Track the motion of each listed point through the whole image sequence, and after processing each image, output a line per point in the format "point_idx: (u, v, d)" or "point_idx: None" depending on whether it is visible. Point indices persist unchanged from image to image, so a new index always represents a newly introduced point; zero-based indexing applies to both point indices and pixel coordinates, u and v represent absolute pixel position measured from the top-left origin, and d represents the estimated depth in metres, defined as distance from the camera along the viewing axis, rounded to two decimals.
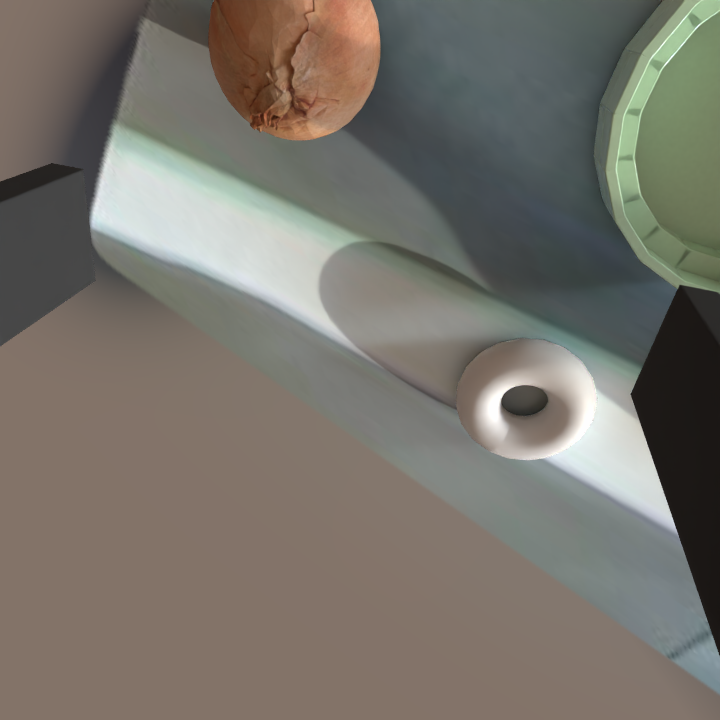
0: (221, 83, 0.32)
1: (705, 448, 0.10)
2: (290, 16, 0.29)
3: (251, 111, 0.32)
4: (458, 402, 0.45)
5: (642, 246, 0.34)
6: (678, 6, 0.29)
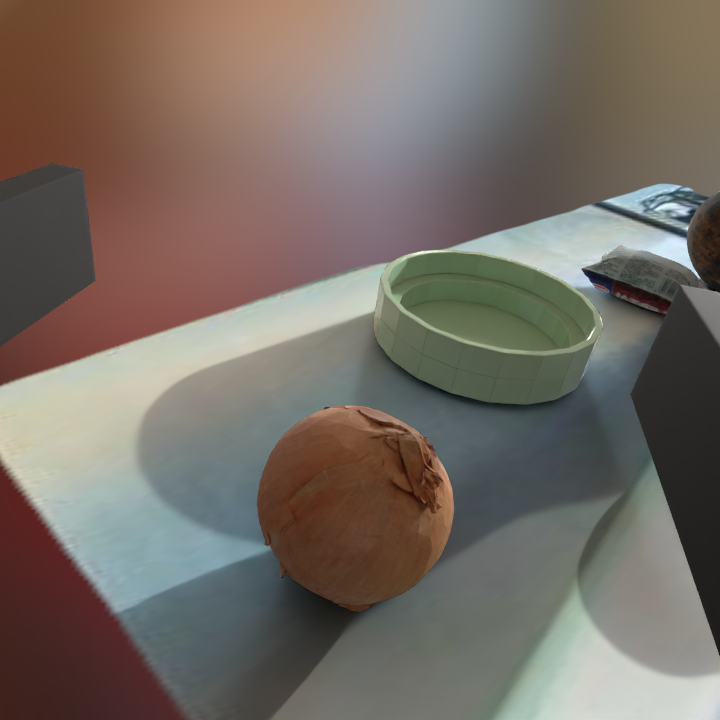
0: (375, 530, 0.25)
1: (706, 448, 0.10)
2: (342, 414, 0.28)
3: (418, 492, 0.26)
4: None
5: (562, 348, 0.44)
6: (404, 315, 0.45)
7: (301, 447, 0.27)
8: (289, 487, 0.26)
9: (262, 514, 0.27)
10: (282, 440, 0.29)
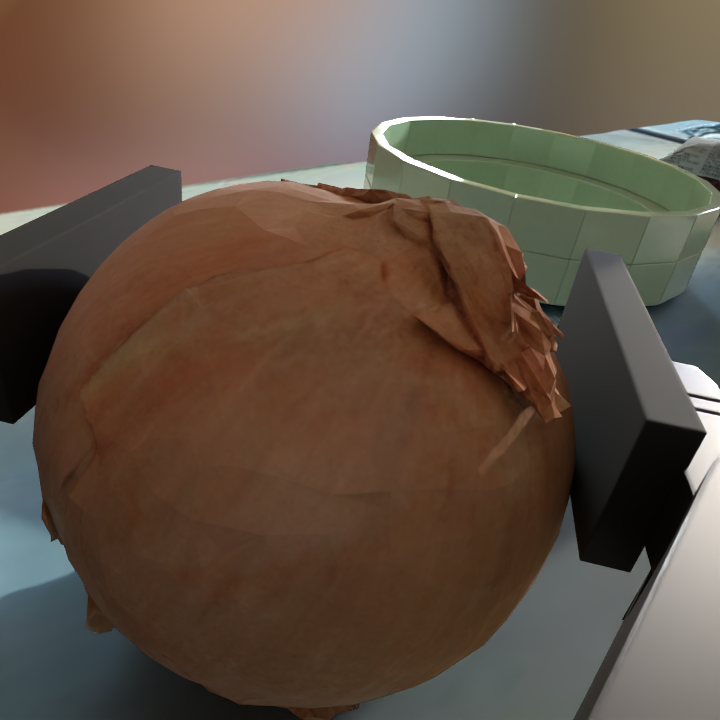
0: (365, 475, 0.07)
1: (586, 385, 0.11)
2: (271, 182, 0.11)
3: (498, 357, 0.08)
4: None
5: (677, 211, 0.26)
6: (411, 166, 0.28)
7: (138, 242, 0.09)
8: (87, 351, 0.08)
9: None
10: None
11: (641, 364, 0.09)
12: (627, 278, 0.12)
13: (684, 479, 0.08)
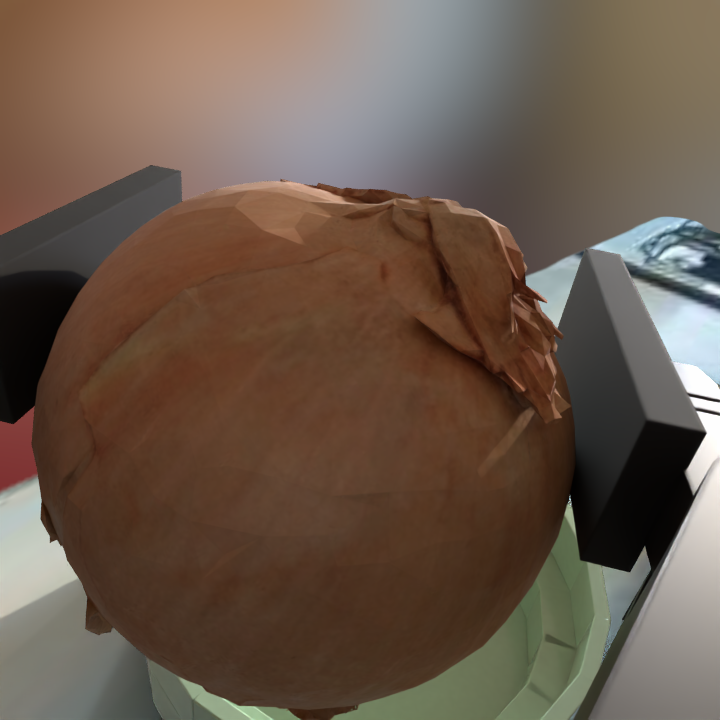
0: (364, 476, 0.07)
1: (587, 385, 0.11)
2: (271, 182, 0.10)
3: (498, 358, 0.08)
4: None
5: None
6: None
7: (137, 243, 0.09)
8: (87, 351, 0.08)
9: None
10: None
11: (641, 364, 0.09)
12: (627, 278, 0.12)
13: (684, 479, 0.08)
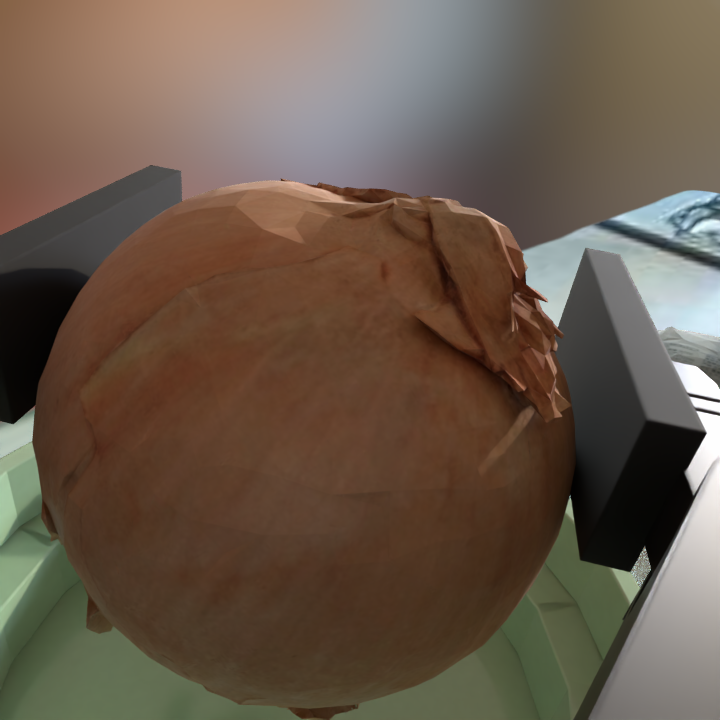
0: (364, 475, 0.07)
1: (587, 385, 0.11)
2: (271, 181, 0.11)
3: (499, 357, 0.08)
4: None
5: None
6: None
7: (137, 243, 0.09)
8: (87, 351, 0.08)
9: (34, 451, 0.09)
10: None
11: (641, 364, 0.09)
12: (627, 278, 0.12)
13: (684, 479, 0.08)
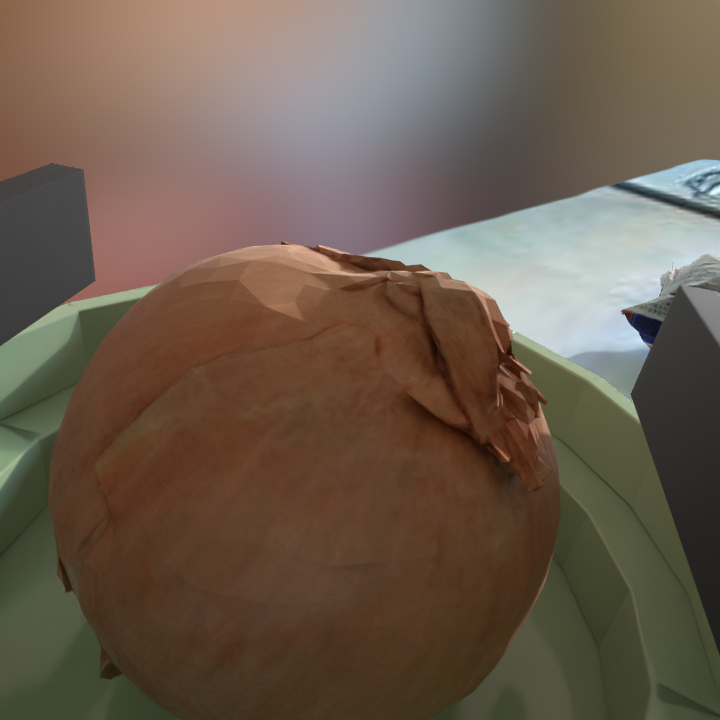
0: (359, 547, 0.08)
1: (705, 448, 0.10)
2: (272, 248, 0.11)
3: (485, 429, 0.09)
4: None
5: None
6: None
7: (147, 316, 0.10)
8: (101, 423, 0.09)
9: (50, 509, 0.10)
10: None
11: None
12: None
13: None
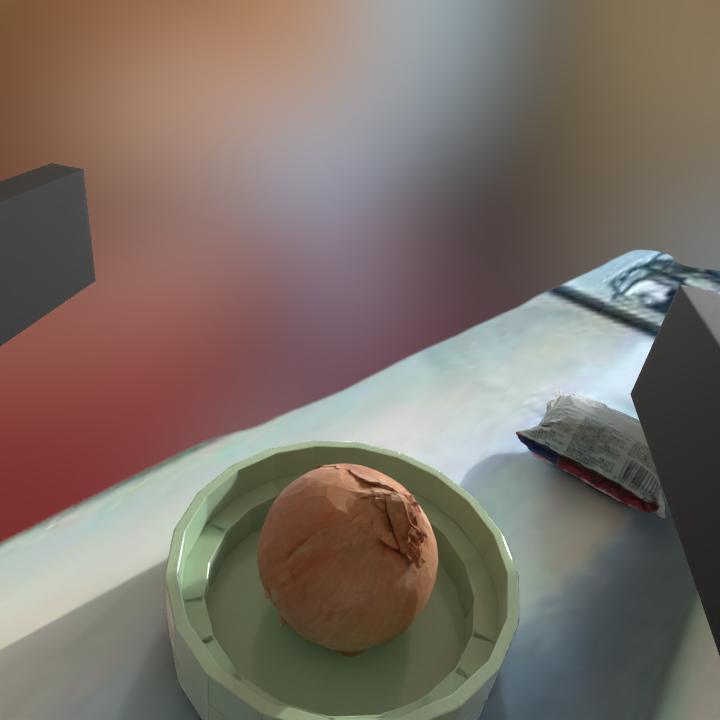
0: (366, 586, 0.28)
1: (705, 448, 0.10)
2: (334, 475, 0.31)
3: (404, 549, 0.29)
4: None
5: (440, 701, 0.26)
6: (180, 635, 0.27)
7: (297, 508, 0.30)
8: (286, 547, 0.29)
9: (262, 570, 0.30)
10: (279, 500, 0.31)
11: None
12: None
13: None
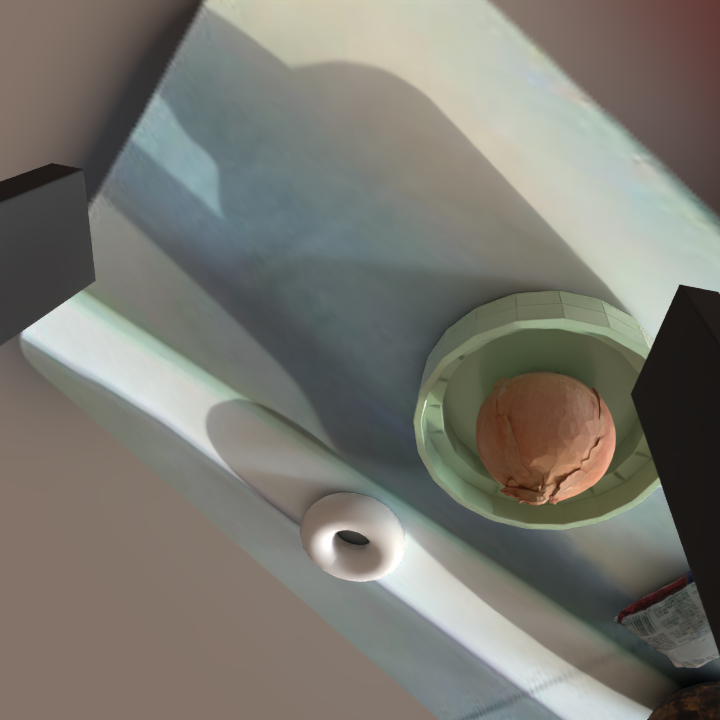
0: (486, 459, 0.42)
1: (705, 448, 0.10)
2: (571, 460, 0.38)
3: (507, 488, 0.42)
4: (301, 530, 0.56)
5: (435, 471, 0.46)
6: (468, 338, 0.40)
7: (540, 431, 0.38)
8: (515, 417, 0.39)
9: (518, 386, 0.41)
10: (563, 411, 0.39)
11: None
12: None
13: None
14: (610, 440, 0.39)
